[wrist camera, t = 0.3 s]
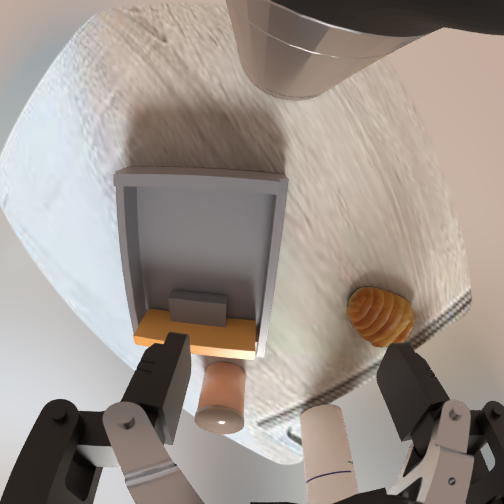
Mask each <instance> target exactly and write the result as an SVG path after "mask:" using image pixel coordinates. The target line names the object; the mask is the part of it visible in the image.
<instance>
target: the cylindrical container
mask: <svg viewBox="0 0 504 504" xmlns="http://www.w3.org/2000/svg"><path fill="white" fill-rule="evenodd" d="M300 427H301V437H302V447H303V457H304V467H305V479H306V490H307V502H308V504H333V503H335V502H338V501H341V500H343V499H346V498H348V497H350V496H353V495H355V494H359V493H358V487H357V482H356V477H355V471H354V467H353V461H352V457H351V452H350V447H349V442H348V438H347V433H346V429H345V424H344V420H343V415H342V411H341V409H340V408H339V407H338V406H336V405H330V404H326V405H319V406H315V407H312V408H310V409H308V410H306V411H305V412H303V413H302V414H301V416H300Z"/></svg>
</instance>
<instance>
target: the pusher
mask: <svg viewBox="0 0 504 504" xmlns="http://www.w3.org/2000/svg"><path fill="white" fill-rule="evenodd" d="M168 299H169V310H170V311H164V310H157V309H150V308H148V310H147V312H146V313H145V315H144V317H143V319H142V320H141V322H140V324H139V326H138V328H137V329H136V331H135V333H134V335H133V337H134V341H135V344H137V345H143V346H148V347H150V346H151V345H153V344H154V343H160V344H164V342H165V339H166V337H167V335H168V333H169V332H175V333H183V334H189V337H190V351H191V353H192V354H200V355H208V356H217V357H227V358H237V359H250V360H254V357H255V341H256V320H244V319H233V318H227V305H228V296H224V295H214V294H204V293H195V292H186V291H177V290H172V292H171V294H170V296H169V298H168Z"/></svg>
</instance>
